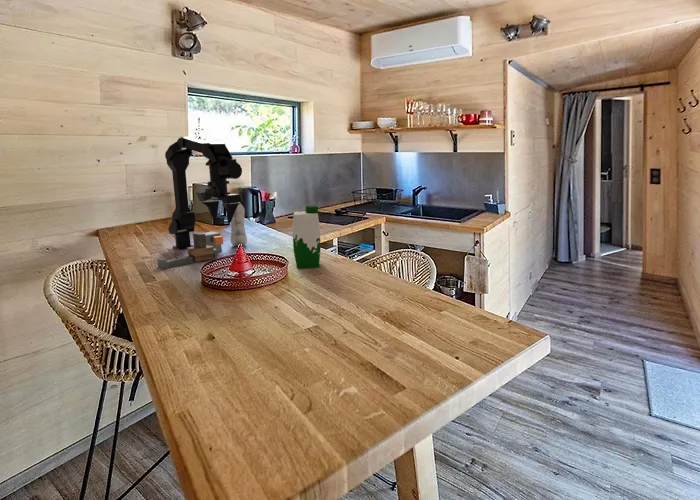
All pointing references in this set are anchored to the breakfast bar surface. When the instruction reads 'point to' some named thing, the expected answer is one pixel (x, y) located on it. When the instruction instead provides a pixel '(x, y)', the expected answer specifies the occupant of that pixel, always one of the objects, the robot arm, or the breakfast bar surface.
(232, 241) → the plastic bottle
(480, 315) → the breakfast bar surface
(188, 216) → the robot arm
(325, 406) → the breakfast bar surface
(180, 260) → the rail
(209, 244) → the block
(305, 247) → the milk carton
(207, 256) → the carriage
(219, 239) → the plunger
